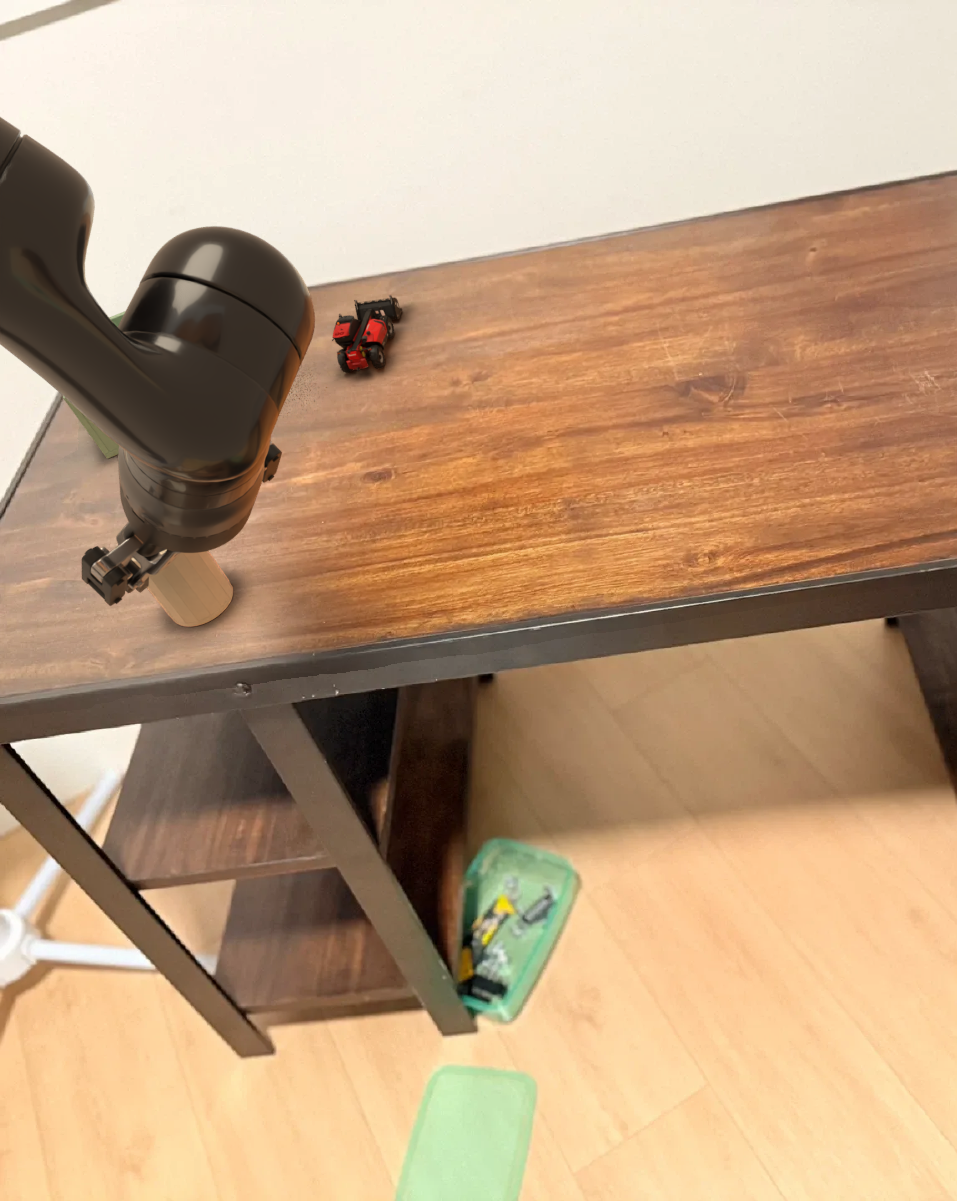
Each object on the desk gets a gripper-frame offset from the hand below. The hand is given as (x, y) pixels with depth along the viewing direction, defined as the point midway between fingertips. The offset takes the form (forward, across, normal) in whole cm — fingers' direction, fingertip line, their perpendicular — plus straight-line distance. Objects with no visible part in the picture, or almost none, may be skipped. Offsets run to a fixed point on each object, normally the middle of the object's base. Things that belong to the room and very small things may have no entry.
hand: (181, 540), depth 71 cm
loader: (+22, -32, -7) cm, 40 cm away
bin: (+32, -15, -18) cm, 40 cm away
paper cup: (+12, 0, +3) cm, 12 cm away
